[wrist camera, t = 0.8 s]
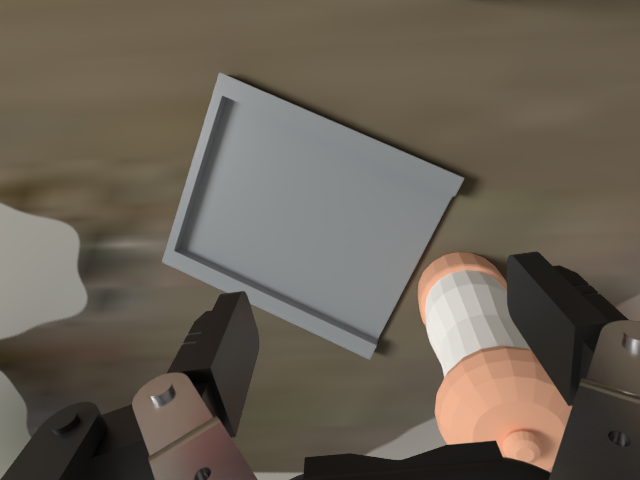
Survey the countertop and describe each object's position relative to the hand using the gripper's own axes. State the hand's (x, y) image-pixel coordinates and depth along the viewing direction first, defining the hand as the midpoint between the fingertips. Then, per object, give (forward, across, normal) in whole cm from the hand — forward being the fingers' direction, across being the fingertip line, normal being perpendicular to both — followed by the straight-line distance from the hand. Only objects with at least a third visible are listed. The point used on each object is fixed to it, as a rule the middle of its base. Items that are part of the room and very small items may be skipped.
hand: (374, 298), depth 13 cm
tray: (+23, +5, +6) cm, 25 cm away
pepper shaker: (+21, -8, +14) cm, 26 cm away
